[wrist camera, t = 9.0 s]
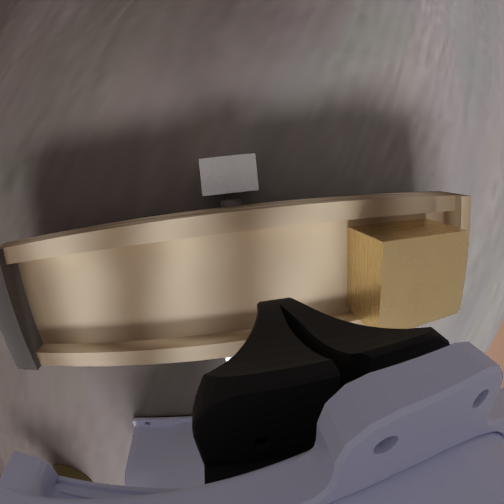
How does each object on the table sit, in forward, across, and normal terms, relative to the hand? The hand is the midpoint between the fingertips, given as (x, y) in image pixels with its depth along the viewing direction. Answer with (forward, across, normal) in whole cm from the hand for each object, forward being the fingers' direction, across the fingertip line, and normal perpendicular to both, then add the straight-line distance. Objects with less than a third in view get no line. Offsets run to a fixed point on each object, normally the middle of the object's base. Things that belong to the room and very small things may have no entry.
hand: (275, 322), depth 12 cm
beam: (+6, +1, 0) cm, 7 cm away
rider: (+5, -8, 0) cm, 10 cm away
